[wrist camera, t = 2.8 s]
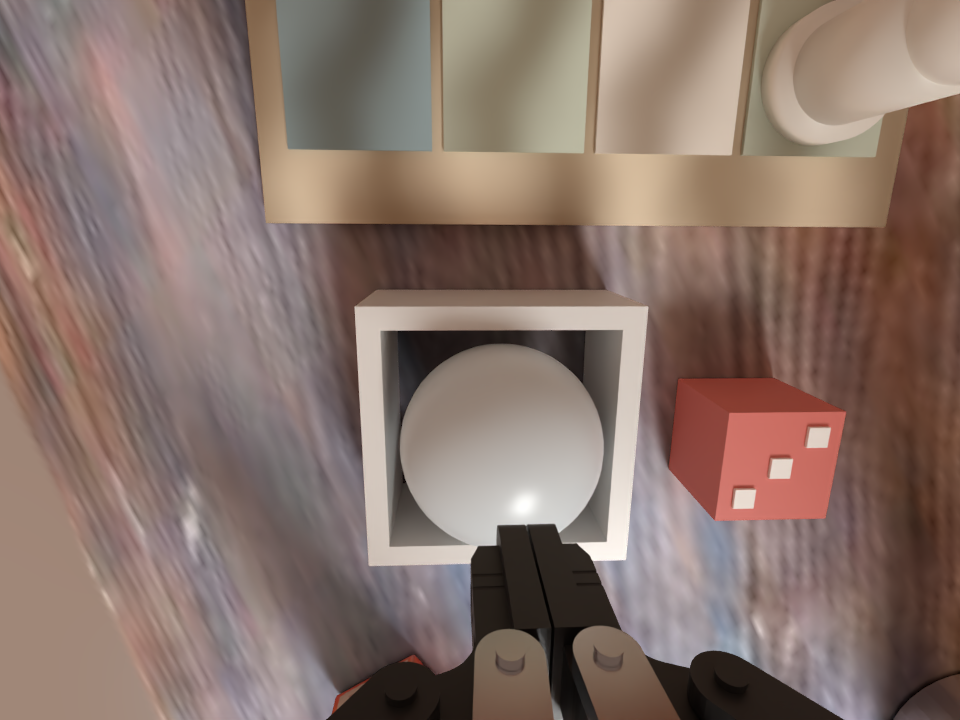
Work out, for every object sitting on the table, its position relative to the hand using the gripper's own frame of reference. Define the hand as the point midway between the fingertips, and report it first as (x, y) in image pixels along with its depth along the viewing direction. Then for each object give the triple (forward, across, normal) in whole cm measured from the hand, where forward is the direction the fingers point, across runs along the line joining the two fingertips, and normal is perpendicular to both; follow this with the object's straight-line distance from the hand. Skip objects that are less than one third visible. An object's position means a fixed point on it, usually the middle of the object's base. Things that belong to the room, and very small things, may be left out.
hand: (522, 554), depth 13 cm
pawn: (+12, -14, -14) cm, 23 cm away
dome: (+11, 0, 0) cm, 11 cm away
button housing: (+13, 0, 0) cm, 13 cm away
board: (+13, -4, -14) cm, 20 cm away
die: (+13, -12, +2) cm, 18 cm away
